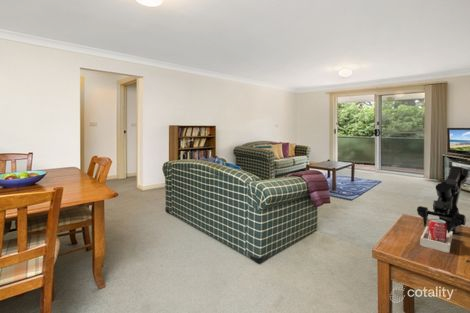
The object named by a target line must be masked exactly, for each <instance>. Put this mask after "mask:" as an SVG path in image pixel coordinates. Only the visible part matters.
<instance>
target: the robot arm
mask: <svg viewBox="0 0 470 313" xmlns="http://www.w3.org/2000/svg"><path fill="white" fill-rule="evenodd" d="M469 177H470V170H469V169H465V168H464V167H462V166H450V167H449V170H448V176H447V178H446V179H444V180H442V181H441V182H439V183H438V184H435V191H436V196H437V200H433V203H432V207H433V208H432V210H429V209H428V207H427V206H421V205H419V206H418V207H417V208H416V212H417V214H418V216H420V218H422V219H423V227H424V228H426V226H427V224H428V219H429V215H430V216H435V217H438V219H440V220H443V221H445V222H446V225H447V230H448V233H449V232H451V231H452V232H453V233H452V235H454V234H460V232H459V231H457V227H458V226H459V227H461V226H466V220H467V219H466V215H465V214H462V213H461V212H460V210H459V207H458V202H459V198H460V194H461V190H462V185H463V184H464V183H467V181H468V179H469Z"/></svg>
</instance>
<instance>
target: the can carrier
mask: <svg viewBox="0 0 470 313" xmlns="http://www.w3.org/2000/svg"><path fill="white" fill-rule="evenodd" d="M428 230H429V225H426V227H424V230H423V231H422V234H421V236H420V241H419V246H420V247H424V248H427V249H432V250H435V251H439V252H444V253H447V254H450V250H451V246H452V240H453V234H452V233H453V232H452V231H451V232H449V233H448V230H447V236H446V243H442V242H438V241H434V240H429V239H428Z"/></svg>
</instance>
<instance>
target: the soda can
mask: <svg viewBox="0 0 470 313" xmlns="http://www.w3.org/2000/svg"><path fill="white" fill-rule="evenodd" d="M428 226H429V230H428V239H429V240H434V241H438V242H442V243H446V236H447V225H446V222H445V221H443V220H440V219H439V218H431V219H430V221H429V223H428Z"/></svg>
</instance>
